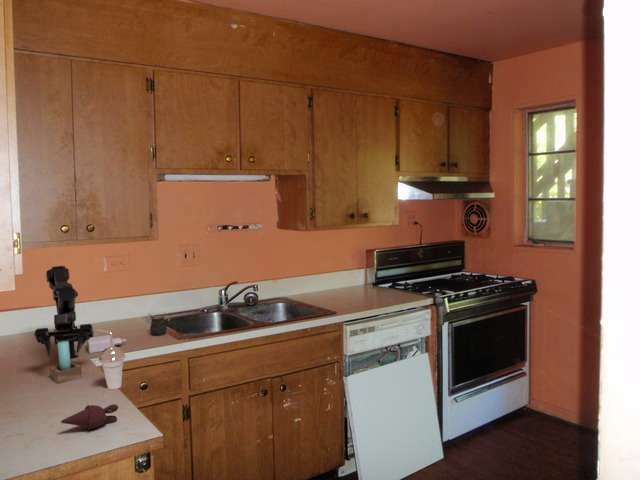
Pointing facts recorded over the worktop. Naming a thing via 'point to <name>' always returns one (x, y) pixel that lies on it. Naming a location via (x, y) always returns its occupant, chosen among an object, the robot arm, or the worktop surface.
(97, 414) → the icecream
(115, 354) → the cup with straw
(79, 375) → the socket block
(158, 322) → the mate gourd
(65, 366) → the peg
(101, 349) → the lavender nozzle bottle
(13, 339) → the worktop surface
